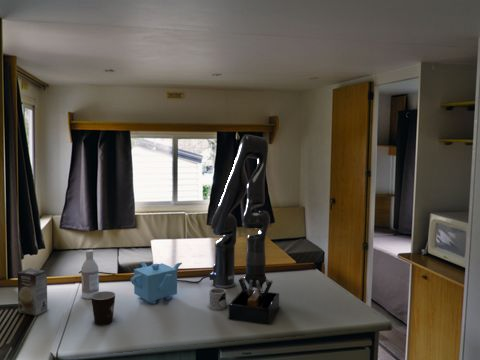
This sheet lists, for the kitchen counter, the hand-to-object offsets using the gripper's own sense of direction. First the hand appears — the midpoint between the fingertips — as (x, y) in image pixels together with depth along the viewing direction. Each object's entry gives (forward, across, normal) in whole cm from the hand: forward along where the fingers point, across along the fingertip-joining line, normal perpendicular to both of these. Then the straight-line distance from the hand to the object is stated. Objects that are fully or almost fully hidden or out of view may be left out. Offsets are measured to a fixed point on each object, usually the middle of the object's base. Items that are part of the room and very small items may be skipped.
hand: (255, 304), depth 169 cm
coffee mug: (+4, +51, +24) cm, 57 cm away
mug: (+4, +16, -3) cm, 17 cm away
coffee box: (+3, +83, +26) cm, 87 cm away
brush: (+3, 0, 0) cm, 3 cm away
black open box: (+3, 0, 0) cm, 3 cm away
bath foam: (+3, +72, +5) cm, 72 cm away
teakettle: (+4, +44, -3) cm, 44 cm away
